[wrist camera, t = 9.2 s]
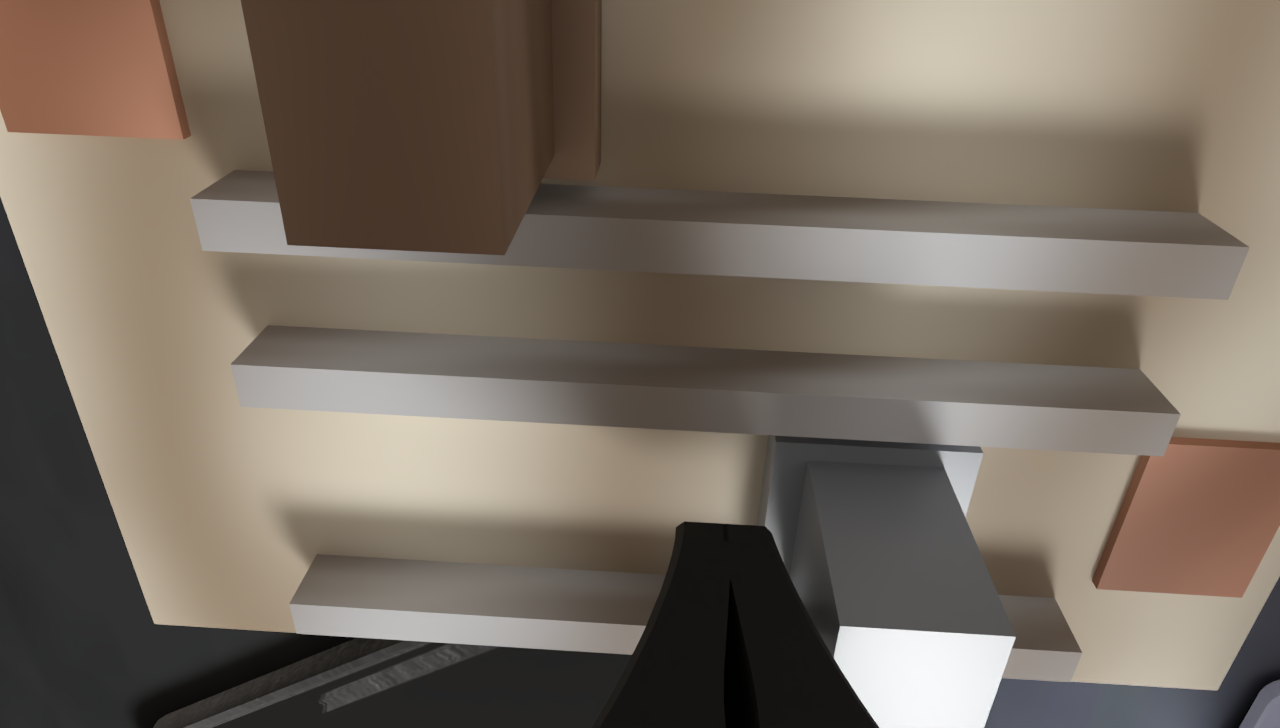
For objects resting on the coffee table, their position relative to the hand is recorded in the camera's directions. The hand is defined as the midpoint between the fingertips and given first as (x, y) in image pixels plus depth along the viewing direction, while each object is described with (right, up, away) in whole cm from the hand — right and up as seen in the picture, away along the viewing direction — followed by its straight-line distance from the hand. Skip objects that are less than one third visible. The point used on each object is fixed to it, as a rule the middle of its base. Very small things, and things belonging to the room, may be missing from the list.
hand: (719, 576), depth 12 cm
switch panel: (0, +5, +2) cm, 5 cm away
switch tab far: (+2, +1, +2) cm, 3 cm away
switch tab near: (-3, +7, -2) cm, 8 cm away
